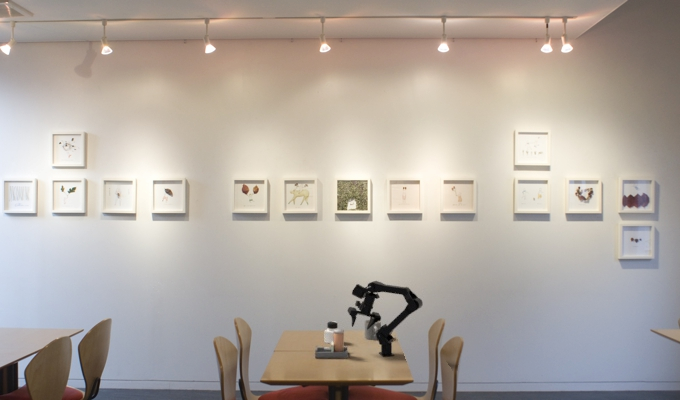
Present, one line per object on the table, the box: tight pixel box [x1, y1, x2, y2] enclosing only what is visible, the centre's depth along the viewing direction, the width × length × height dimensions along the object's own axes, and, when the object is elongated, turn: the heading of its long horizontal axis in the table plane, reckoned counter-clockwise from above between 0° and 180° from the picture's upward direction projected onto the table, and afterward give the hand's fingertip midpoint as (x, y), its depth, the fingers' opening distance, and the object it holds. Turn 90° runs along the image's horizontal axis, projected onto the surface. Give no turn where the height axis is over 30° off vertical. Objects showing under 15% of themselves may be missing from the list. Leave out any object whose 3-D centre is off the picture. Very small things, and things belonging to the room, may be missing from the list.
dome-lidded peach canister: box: [333, 328, 345, 352], centre depth 256 cm, size 6×6×13 cm
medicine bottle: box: [323, 320, 339, 345], centre depth 281 cm, size 7×7×12 cm
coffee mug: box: [364, 319, 382, 341], centre depth 289 cm, size 13×10×10 cm
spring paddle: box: [324, 342, 334, 352], centre depth 255 cm, size 5×7×6 cm
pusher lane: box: [314, 345, 349, 359], centre depth 255 cm, size 18×10×4 cm, turn 92°
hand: (359, 327), depth 264 cm, fingers open, 9 cm apart
